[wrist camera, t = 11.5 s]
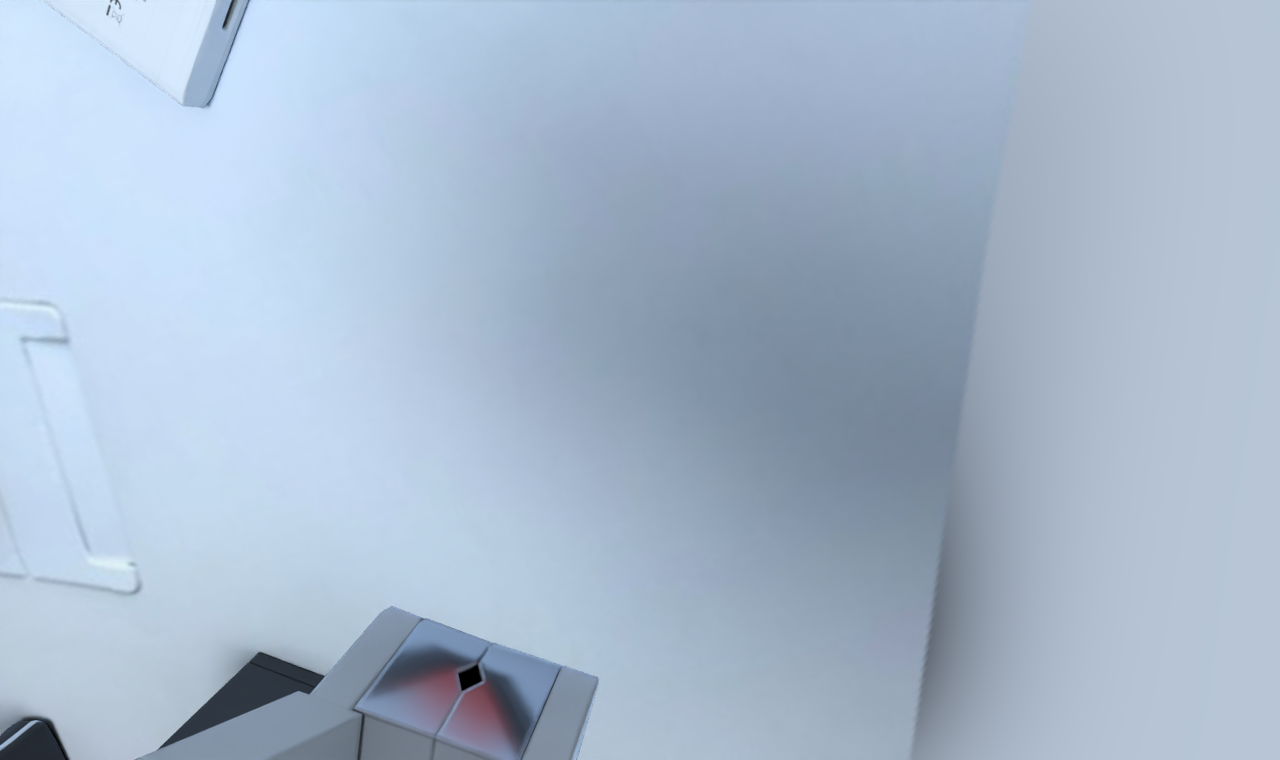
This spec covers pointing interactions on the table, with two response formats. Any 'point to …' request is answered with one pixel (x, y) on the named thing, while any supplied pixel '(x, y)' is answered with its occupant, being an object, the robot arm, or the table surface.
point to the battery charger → (29, 742)
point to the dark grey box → (248, 693)
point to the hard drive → (163, 39)
